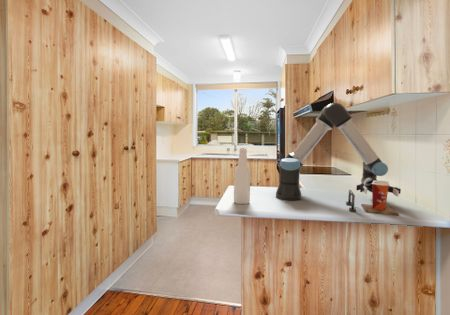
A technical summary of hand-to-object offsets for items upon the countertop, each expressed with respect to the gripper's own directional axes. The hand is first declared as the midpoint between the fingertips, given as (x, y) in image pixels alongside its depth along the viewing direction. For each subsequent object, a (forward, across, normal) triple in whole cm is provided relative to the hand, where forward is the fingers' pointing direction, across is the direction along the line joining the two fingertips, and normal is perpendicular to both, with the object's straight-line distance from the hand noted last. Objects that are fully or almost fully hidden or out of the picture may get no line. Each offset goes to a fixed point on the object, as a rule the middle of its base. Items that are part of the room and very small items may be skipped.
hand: (381, 192), depth 125 cm
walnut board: (-3, 0, -10) cm, 11 cm away
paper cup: (-3, 0, -9) cm, 10 cm away
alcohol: (+11, +69, -10) cm, 71 cm away
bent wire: (-3, +13, -10) cm, 17 cm away
